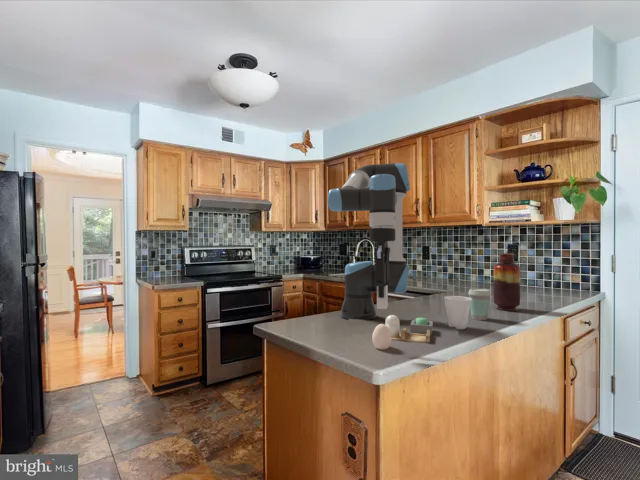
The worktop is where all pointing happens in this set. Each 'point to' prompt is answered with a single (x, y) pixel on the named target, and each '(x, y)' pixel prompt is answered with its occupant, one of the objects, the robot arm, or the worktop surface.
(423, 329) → the button collar
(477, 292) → the coffee cup
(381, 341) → the egg
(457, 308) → the cup
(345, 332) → the worktop surface
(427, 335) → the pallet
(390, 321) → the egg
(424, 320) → the button
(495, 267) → the vase
